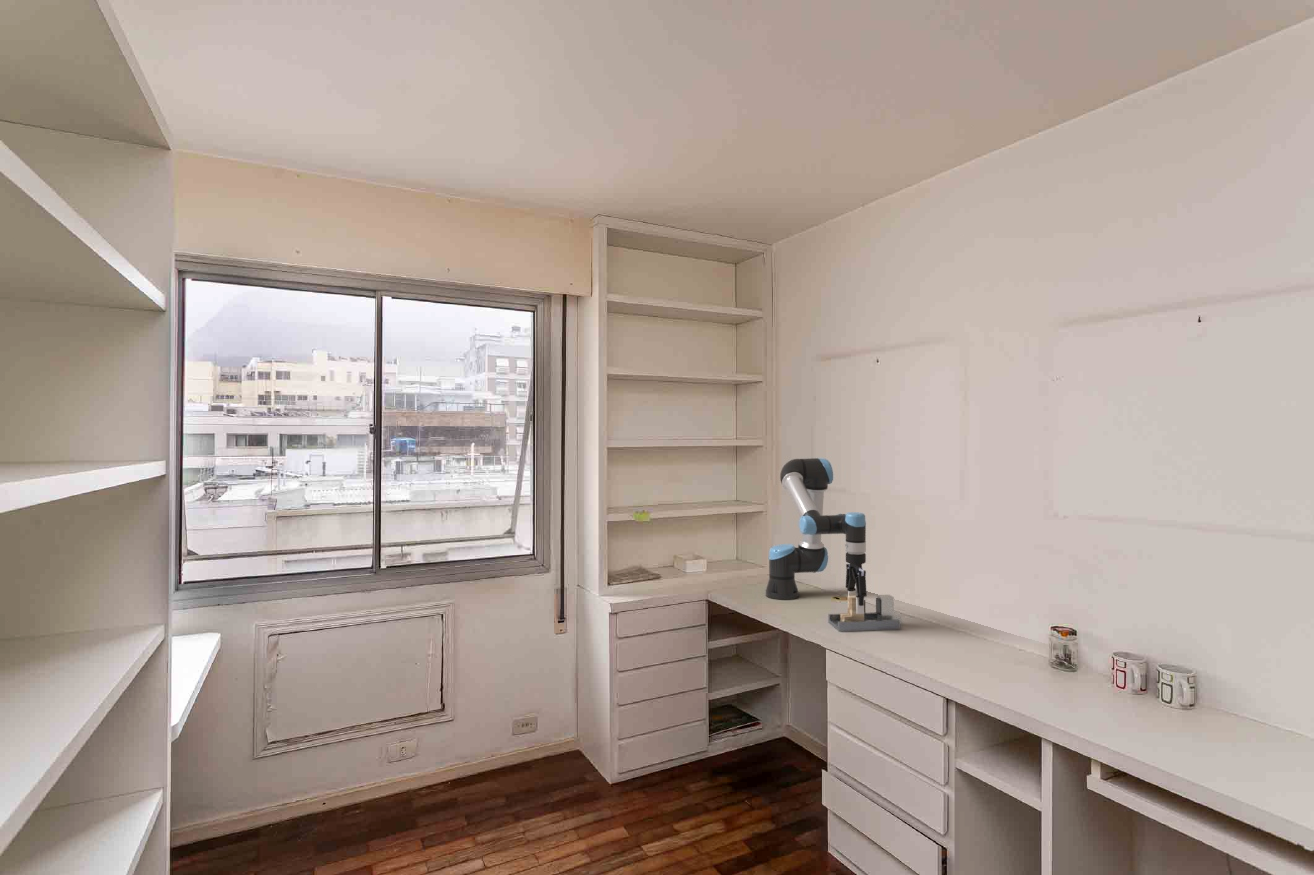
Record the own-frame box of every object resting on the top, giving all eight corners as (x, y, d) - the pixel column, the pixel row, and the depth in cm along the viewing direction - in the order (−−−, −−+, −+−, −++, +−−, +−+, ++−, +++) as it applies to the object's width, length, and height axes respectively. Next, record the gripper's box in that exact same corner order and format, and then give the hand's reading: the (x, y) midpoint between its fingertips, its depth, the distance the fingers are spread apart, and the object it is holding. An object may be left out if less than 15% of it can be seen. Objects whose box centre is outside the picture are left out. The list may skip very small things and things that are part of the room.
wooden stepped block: (840, 621, 263) (840, 596, 263) (861, 620, 264) (861, 595, 264) (844, 624, 260) (844, 598, 259) (865, 623, 260) (865, 598, 260)
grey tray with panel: (828, 622, 267) (828, 594, 267) (892, 620, 270) (892, 591, 270) (839, 631, 255) (839, 601, 255) (906, 629, 258) (905, 599, 258)
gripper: (836, 548, 272) (837, 604, 272) (856, 557, 251) (857, 618, 251) (854, 547, 272) (855, 603, 273) (876, 557, 252) (876, 617, 252)
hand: (855, 610), depth 262 cm, fingers open, 8 cm apart
